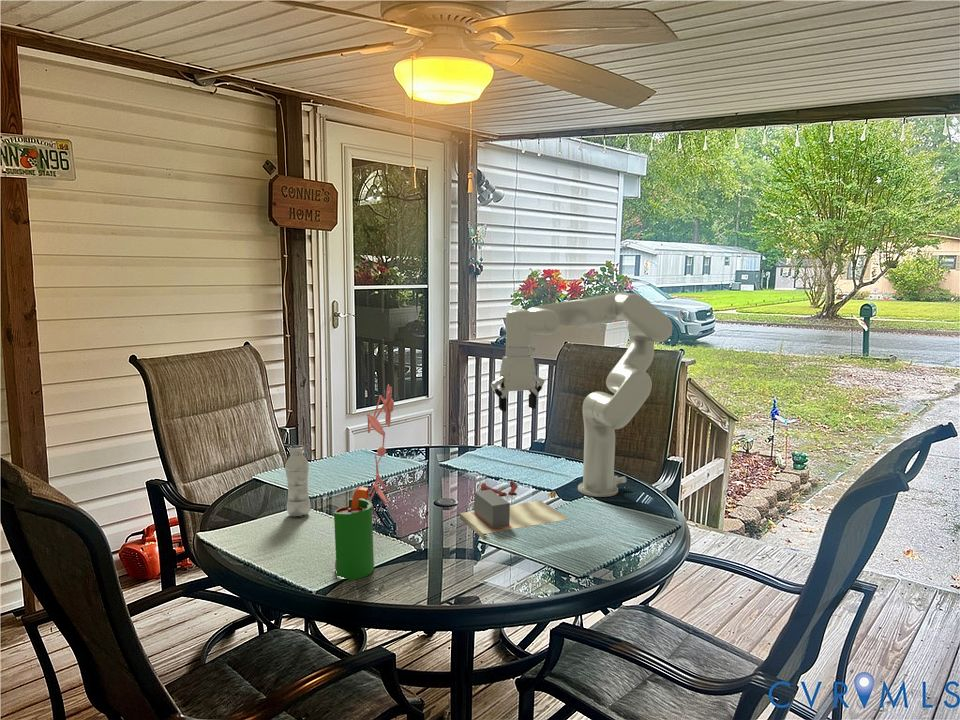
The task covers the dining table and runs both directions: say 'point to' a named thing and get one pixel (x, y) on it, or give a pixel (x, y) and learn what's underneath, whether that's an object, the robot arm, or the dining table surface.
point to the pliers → (512, 485)
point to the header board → (515, 517)
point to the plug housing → (492, 508)
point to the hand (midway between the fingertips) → (517, 409)
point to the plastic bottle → (297, 482)
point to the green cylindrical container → (354, 537)
